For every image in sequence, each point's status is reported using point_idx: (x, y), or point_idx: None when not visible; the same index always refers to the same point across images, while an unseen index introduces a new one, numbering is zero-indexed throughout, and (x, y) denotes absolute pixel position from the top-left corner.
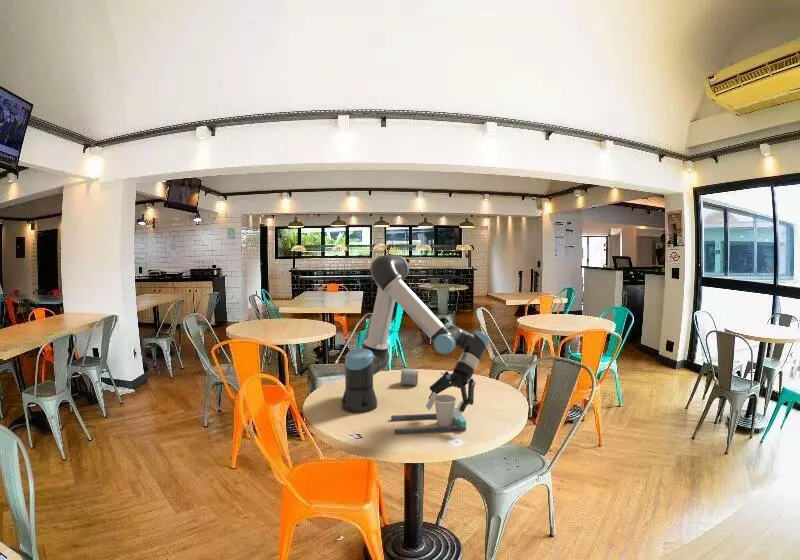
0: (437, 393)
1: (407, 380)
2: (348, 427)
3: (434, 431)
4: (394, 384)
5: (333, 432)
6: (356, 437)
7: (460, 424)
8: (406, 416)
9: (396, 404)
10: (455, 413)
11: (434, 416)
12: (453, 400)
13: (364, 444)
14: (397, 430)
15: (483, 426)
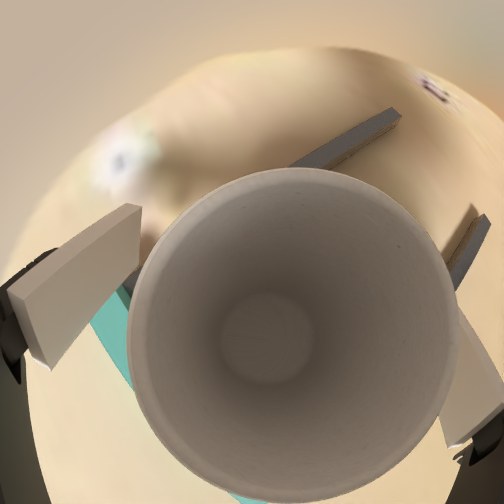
0: (466, 457)
1: None
2: (483, 129)
3: None
4: None
5: (472, 101)
6: (430, 85)
7: (123, 291)
8: (461, 253)
9: None
10: (113, 213)
11: None
12: (214, 442)
13: (387, 59)
14: (386, 110)
15: (54, 403)
